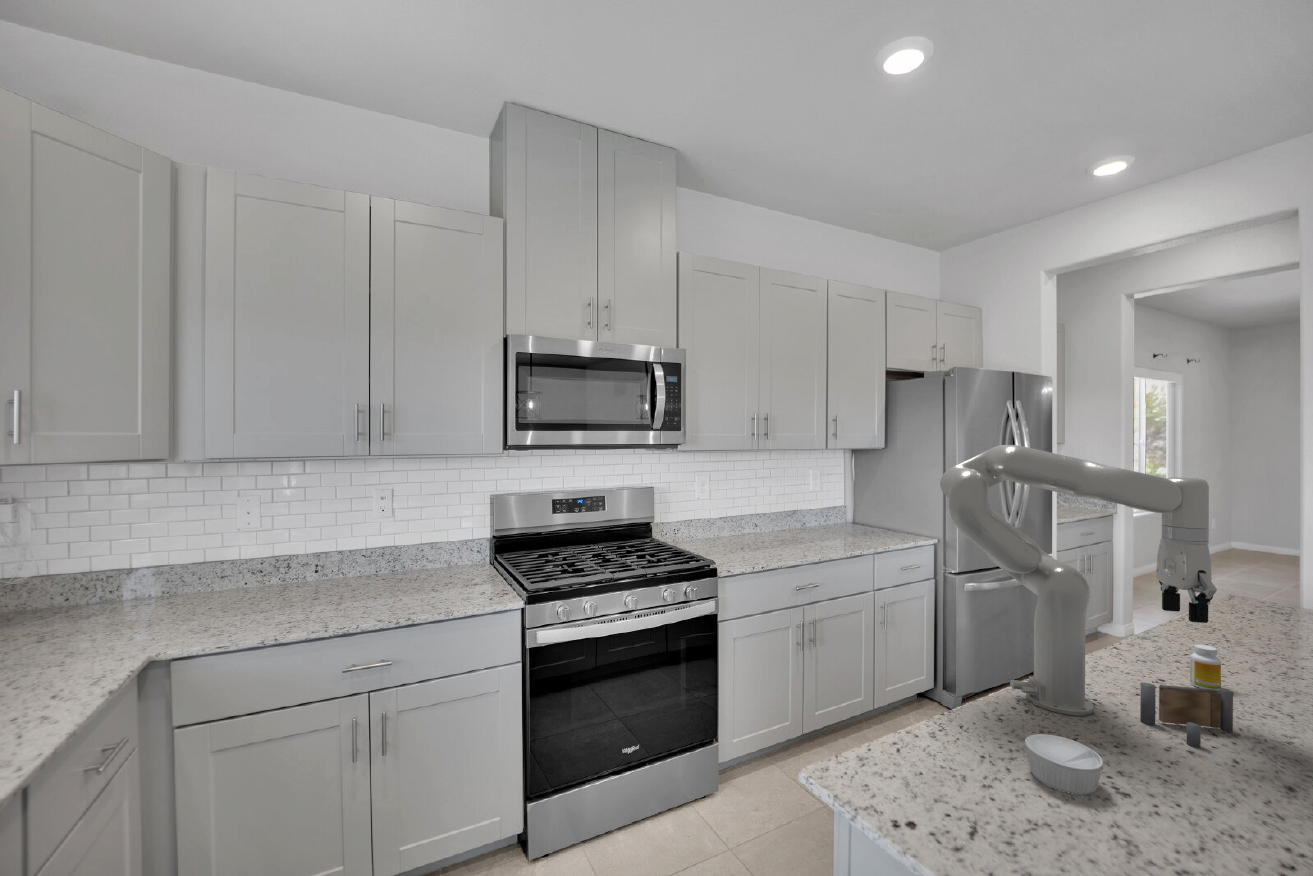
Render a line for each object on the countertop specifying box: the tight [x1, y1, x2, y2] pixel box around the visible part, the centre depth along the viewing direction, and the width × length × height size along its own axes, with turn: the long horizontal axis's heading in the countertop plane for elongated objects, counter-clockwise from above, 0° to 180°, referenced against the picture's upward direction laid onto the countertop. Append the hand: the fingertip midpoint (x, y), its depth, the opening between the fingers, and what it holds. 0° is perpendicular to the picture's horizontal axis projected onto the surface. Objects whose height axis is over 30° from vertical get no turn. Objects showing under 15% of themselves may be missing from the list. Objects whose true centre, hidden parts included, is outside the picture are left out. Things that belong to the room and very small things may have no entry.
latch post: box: [1218, 688, 1234, 733], centre depth 118 cm, size 2×2×8 cm
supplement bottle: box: [1189, 643, 1222, 692], centre depth 140 cm, size 5×5×10 cm
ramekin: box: [1024, 733, 1104, 795], centre depth 100 cm, size 11×11×5 cm
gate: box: [1158, 684, 1221, 729], centre depth 120 cm, size 10×2×8 cm, turn 79°
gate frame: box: [1139, 681, 1202, 749], centre depth 117 cm, size 2×11×8 cm, turn 7°
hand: (1184, 615), depth 124 cm, fingers open, 7 cm apart
